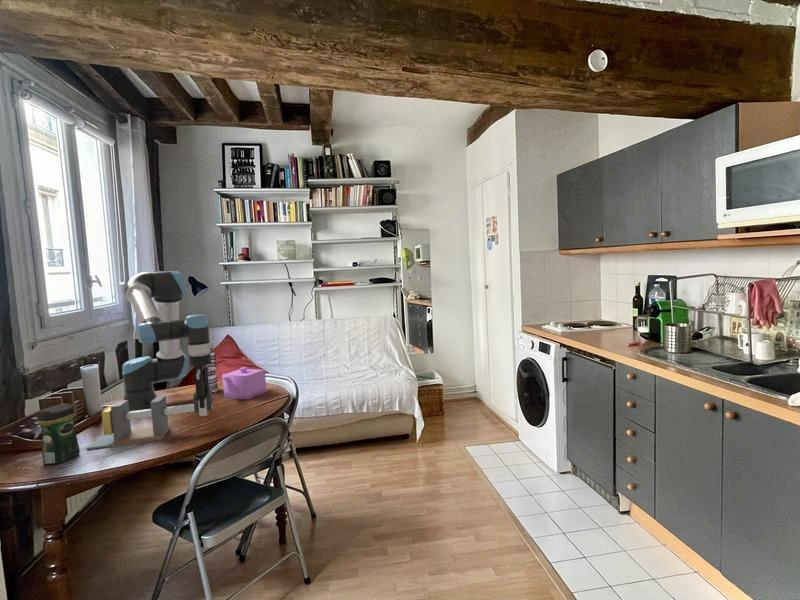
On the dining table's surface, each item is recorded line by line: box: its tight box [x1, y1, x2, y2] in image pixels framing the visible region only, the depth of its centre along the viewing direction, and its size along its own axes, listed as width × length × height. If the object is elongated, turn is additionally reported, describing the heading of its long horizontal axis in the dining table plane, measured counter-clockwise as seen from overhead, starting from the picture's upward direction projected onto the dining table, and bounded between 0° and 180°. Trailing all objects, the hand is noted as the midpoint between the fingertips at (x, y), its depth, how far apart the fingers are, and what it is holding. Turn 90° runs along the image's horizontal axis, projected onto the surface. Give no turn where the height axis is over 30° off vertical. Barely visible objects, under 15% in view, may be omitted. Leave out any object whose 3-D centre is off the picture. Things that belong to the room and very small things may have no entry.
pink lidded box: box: [221, 366, 267, 400], centre depth 210 cm, size 15×25×14 cm, turn 157°
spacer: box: [101, 403, 115, 436], centre depth 158 cm, size 10×2×8 cm, turn 15°
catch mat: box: [86, 434, 116, 450], centre depth 157 cm, size 12×8×1 cm
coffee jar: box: [37, 402, 81, 465], centre depth 143 cm, size 10×8×19 cm
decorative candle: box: [206, 343, 219, 393], centre depth 222 cm, size 9×9×25 cm
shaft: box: [124, 390, 214, 420], centre depth 161 cm, size 4×36×7 cm, turn 105°
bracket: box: [110, 395, 171, 447], centre depth 160 cm, size 12×16×14 cm
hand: (204, 413), depth 165 cm, fingers closed on shaft, 4 cm apart
